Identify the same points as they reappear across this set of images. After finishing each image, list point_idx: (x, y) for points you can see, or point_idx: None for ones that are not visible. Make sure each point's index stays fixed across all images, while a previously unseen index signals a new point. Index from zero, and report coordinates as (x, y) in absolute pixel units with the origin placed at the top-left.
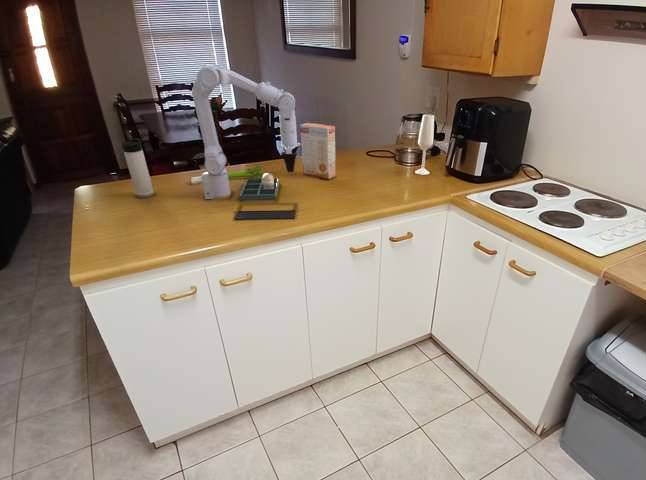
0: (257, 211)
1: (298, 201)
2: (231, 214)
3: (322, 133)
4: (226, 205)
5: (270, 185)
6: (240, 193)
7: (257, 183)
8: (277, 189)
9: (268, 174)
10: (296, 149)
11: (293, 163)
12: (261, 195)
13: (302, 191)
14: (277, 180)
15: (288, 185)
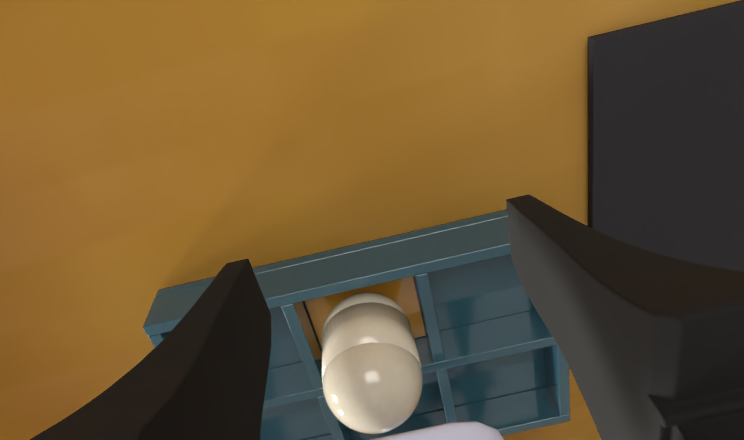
0: (741, 253)
1: (523, 30)
2: None
3: None
4: (592, 422)
5: (405, 325)
6: (535, 427)
7: None
8: (381, 262)
9: (391, 406)
10: (168, 419)
11: (613, 247)
12: None
13: (251, 64)
14: None
15: (136, 228)
